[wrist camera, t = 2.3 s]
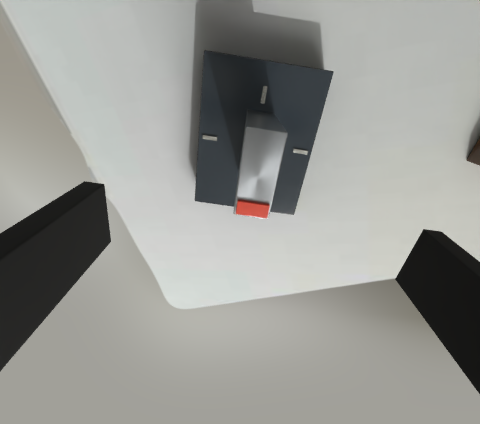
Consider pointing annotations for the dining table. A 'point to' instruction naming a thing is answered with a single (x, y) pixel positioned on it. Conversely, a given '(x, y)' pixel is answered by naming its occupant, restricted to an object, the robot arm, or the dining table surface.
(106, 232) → the robot arm
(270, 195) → the tap handle
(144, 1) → the dining table surface
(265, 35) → the dining table surface
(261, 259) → the dining table surface
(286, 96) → the panel
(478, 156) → the button block
